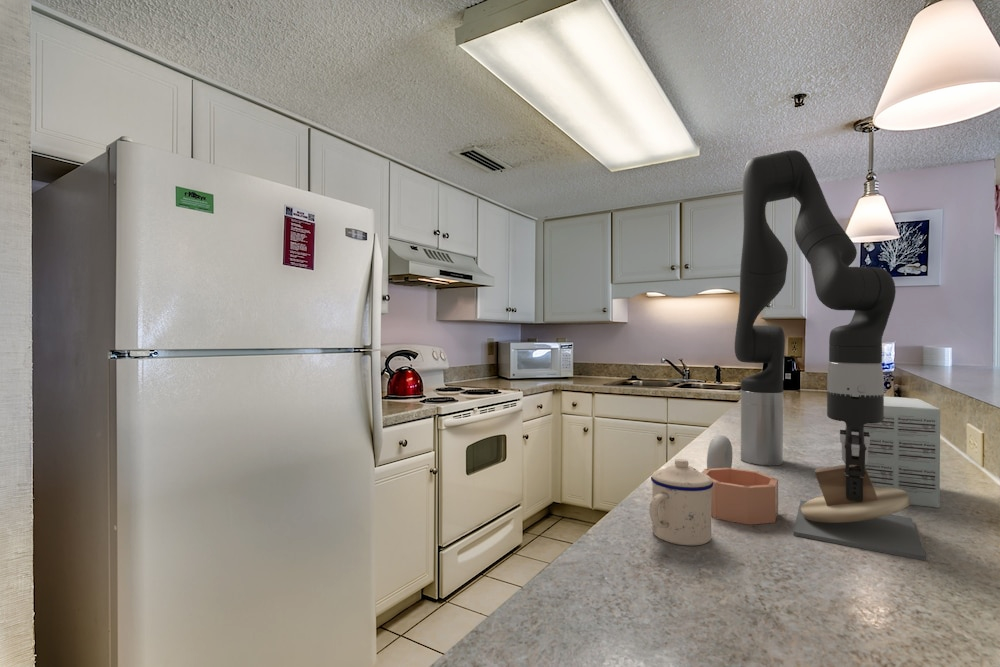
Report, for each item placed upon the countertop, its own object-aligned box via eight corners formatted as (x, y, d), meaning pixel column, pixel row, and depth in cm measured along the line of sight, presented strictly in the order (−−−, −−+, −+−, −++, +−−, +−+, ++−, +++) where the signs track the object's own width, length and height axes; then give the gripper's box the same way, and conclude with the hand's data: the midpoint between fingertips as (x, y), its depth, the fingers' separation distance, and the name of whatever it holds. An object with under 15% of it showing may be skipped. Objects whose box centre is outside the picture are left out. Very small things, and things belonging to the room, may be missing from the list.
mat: (800, 503, 95) (800, 500, 95) (911, 521, 86) (911, 517, 86) (793, 535, 80) (793, 531, 80) (926, 560, 71) (926, 556, 71)
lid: (805, 501, 93) (792, 465, 94) (905, 488, 85) (889, 449, 87) (800, 527, 81) (785, 485, 82) (916, 514, 73) (897, 468, 74)
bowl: (708, 496, 99) (708, 464, 99) (780, 508, 92) (780, 474, 92) (693, 514, 89) (693, 479, 89) (772, 529, 82) (773, 491, 82)
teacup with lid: (672, 520, 86) (673, 450, 86) (724, 537, 79) (725, 461, 79) (626, 537, 79) (626, 461, 79) (679, 557, 72) (679, 474, 72)
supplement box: (842, 475, 114) (843, 394, 114) (919, 484, 108) (919, 398, 108) (852, 497, 99) (853, 403, 99) (942, 509, 92) (942, 408, 92)
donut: (722, 489, 103) (722, 439, 103) (704, 486, 105) (704, 437, 105) (734, 478, 111) (734, 432, 111) (717, 475, 113) (717, 430, 113)
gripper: (827, 385, 91) (827, 484, 91) (826, 393, 79) (825, 505, 79) (880, 388, 87) (880, 491, 87) (887, 396, 75) (886, 515, 75)
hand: (854, 497), depth 83 cm, fingers closed on lid
